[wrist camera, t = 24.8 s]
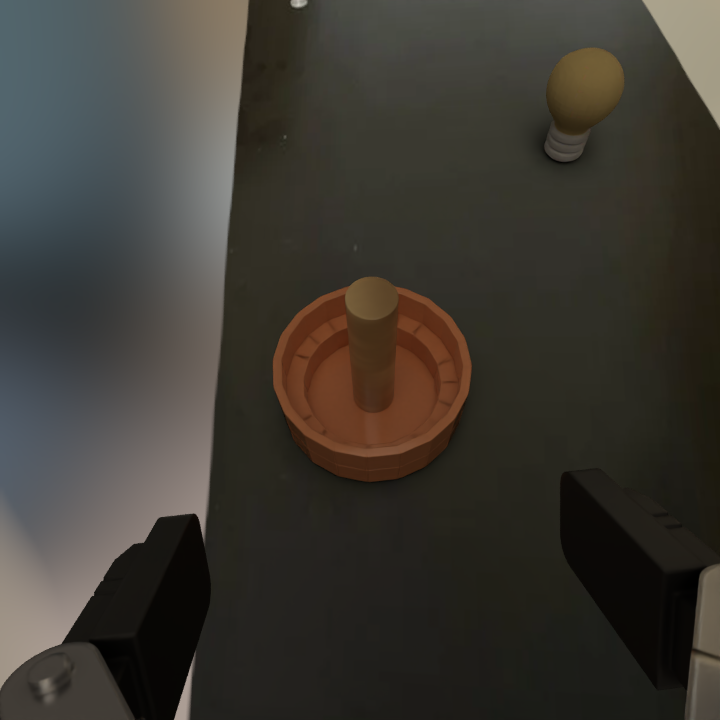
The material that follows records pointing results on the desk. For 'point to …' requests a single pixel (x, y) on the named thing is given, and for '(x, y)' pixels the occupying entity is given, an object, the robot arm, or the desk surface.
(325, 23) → the desk surface
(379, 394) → the stick
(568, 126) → the light bulb
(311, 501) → the desk surface
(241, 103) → the desk surface
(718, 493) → the desk surface
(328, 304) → the bowl
